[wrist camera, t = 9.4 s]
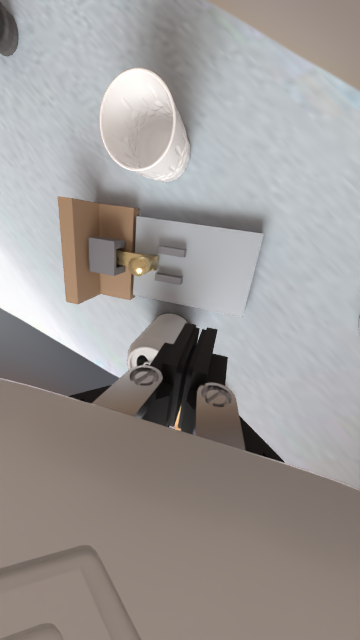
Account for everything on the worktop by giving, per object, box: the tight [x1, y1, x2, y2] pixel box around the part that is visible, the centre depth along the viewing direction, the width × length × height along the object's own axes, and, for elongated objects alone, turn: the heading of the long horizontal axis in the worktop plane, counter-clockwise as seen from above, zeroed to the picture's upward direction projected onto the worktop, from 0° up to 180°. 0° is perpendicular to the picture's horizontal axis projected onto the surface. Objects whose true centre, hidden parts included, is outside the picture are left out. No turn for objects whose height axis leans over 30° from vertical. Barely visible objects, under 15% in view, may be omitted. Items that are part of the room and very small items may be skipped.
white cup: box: [99, 68, 190, 183], centre depth 26 cm, size 8×8×10 cm
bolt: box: [116, 249, 159, 276], centre depth 32 cm, size 9×2×6 cm, turn 83°
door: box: [58, 197, 264, 317], centre depth 32 cm, size 26×14×8 cm, turn 83°
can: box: [127, 313, 187, 370], centre depth 35 cm, size 8×8×12 cm
